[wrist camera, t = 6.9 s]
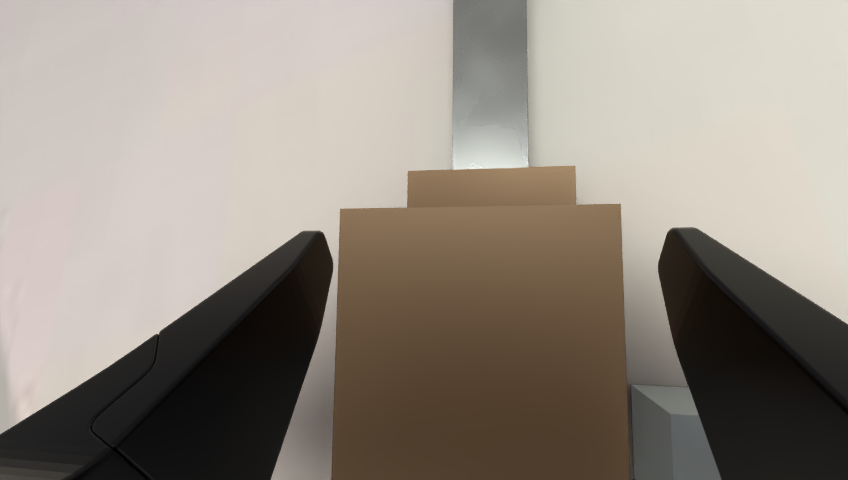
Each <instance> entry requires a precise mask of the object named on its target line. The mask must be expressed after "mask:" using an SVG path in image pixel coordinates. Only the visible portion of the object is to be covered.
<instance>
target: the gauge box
mask: <svg viewBox="0 0 848 480" xmlns="http://www.w3.org/2000/svg"><path fill="white" fill-rule="evenodd" d="M631 399H632V428H633V456H634V480H721V477H720V474H719V471H718V469H717V466H716V463H715V460H714V457H713V454H712V452H711V449H710V446H709V443H708V440H707V437H706V435H705V432H704V429H703V426H702V423H701V420H700V418H699V415H698V412H697V409H696V406H695V403H694V401H693V398H692V395H691V392H690V389H689V387H672V386H650V385H631Z"/></svg>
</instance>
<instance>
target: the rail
mask: <svg viewBox="0 0 848 480" xmlns="http://www.w3.org/2000/svg"><path fill="white" fill-rule="evenodd" d="M522 167H528V102H527V19H526V0H454V6H453V170H458V169H490V168H522Z"/></svg>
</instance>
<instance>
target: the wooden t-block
mask: <svg viewBox="0 0 848 480" xmlns="http://www.w3.org/2000/svg"><path fill="white" fill-rule="evenodd" d="M331 480H630V468H629V438H628V409H627V379H626V350H625V320H624V291H623V261H622V232H621V204H594V205H576V176H575V166H553V167H522V168H490V169H458V170H426V171H408V201H407V208H363V209H340V233H339V264H338V294H337V325H336V356H335V386H334V417H333V448H332V478H331Z"/></svg>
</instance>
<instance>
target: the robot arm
mask: <svg viewBox="0 0 848 480" xmlns="http://www.w3.org/2000/svg"><path fill="white" fill-rule="evenodd" d="M332 273H333V260H332V257H331V253H330V250H329V247H328V244H327V241H326V238H325V235H324V234H323V232H321V231H302V232H301V233H299V234H298V235H296V236H295V237H293V238H292V239H291V240H289V241H288V242H286V243H285V244H284V245H282V246H281V247H279V248H278V249H276V250H275V251H274V252H272V253H271V254H269V255H268V256H266V257H265V258H264V259H262V260H261V261H259V262H258V263H257V264H255V265H254V266H252V267H251V268H249V269H248V270H247V271H245V272H244V273H242V274H241V275H239V276H238V277H237V278H235V279H234V280H232V281H231V282H229V283H228V284H227V285H225V286H224V287H222V288H221V289H220V290H218V291H217V292H215V293H214V294H212V295H211V296H210V297H208V298H207V299H205V300H204V301H202V302H201V303H200V304H198V305H197V306H195V307H194V308H192V309H191V310H190V311H188V312H187V313H185V314H184V315H183V316H181V317H180V318H178V319H177V320H175V321H174V322H173V323H171V324H170V325H168V326H167V327H165V328H164V329H163V330H161V331H160V333H159V335H158V334H156V335H154V336H153V337H151V338H150V339H148V340H147V341H145V342H144V343H143V344H141V345H140V346H138V347H137V348H135V349H134V350H133V351H131V352H130V353H128V354H127V355H125V356H124V357H122V358H121V359H119V360H118V361H116V362H115V363H113V364H112V365H110V366H109V367H107V368H106V369H104V370H103V371H101V372H100V373H98V374H96V375H95V376H93V377H92V378H90V379H89V380H87V381H85V382H84V383H82V384H81V385H79V386H78V387H76V388H74V389H73V390H71V391H70V392H68V393H66V394H65V395H63V396H61V397H60V398H58V399H57V400H55V401H53V402H52V403H50V404H49V405H47V406H45V407H44V408H42V409H41V410H39V411H37V412H36V413H34V414H32V415H31V416H29V417H28V418H26V419H24V420H23V421H21V422H20V423H18V424H16V425H15V426H13V427H11V428H10V429H8V430H7V431H5V432H3V433H2V434H0V480H270V479H271V477H272V474H273V471H274V468H275V465H276V462H277V459H278V456H279V453H280V450H281V447H282V444H283V441H284V438H285V435H286V432H287V429H288V426H289V423H290V420H291V417H292V414H293V411H294V408H295V405H296V402H297V399H298V396H299V394H300V391H301V388H302V385H303V382H304V379H305V376H306V373H307V370H308V367H309V364H310V361H311V358H312V355H313V352H314V349H315V346H316V343H317V340H318V337H319V333H320V329H321V325H322V321H323V316H324V311H325V306H326V302H327V297H328V292H329V287H330V283H331V278H332ZM658 273H659V278H660V283H661V287H662V292H663V297H664V301H665V306H666V311H667V315H668V320H669V325H670V329H671V334H672V338H673V342H674V346H675V349H676V352H677V355H678V358H679V361H680V364H681V367H682V369H683V372H684V375H685V378H686V381H687V384H688V386H689V389H690V392H691V395H692V398H693V401H694V403H695V406H696V409H697V412H698V415H699V418H700V420H701V423H702V426H703V429H704V432H705V435H706V437H707V440H708V443H709V446H710V449H711V452H712V454H713V457H714V460H715V463H716V466H717V469H718V471H719V474H720V477H721V480H848V324H847V323H845V322H843V321H842V320H840V319H839V318H837V317H836V316H834V315H832V314H831V313H829V312H828V311H826V310H825V309H823V308H821V307H820V306H818V305H817V304H815V303H814V302H812V301H810V300H809V299H807V298H806V297H804V296H803V295H801V294H799V293H798V292H796V291H795V290H793V289H792V288H790V287H788V286H787V285H785V284H784V283H782V282H780V281H779V280H777V279H776V278H774V277H773V276H771V275H769V274H768V273H766V272H765V271H763V270H762V269H760V268H758V267H757V266H755V265H754V264H752V263H751V262H749V261H747V260H746V259H744V258H743V257H741V256H740V255H738V254H736V253H735V252H733V251H732V250H730V249H729V248H727V247H725V246H724V245H722V244H721V243H719V242H717V241H716V240H714V239H713V238H711V237H710V236H708V235H706V234H705V233H703V232H702V231H700V230H698V229H697V228H693V227H685V228H672V229H670V230H669V231H668V233H667V235H666V239H665V242H664V245H663V249H662V252H661V255H660V259H659V263H658Z"/></svg>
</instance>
